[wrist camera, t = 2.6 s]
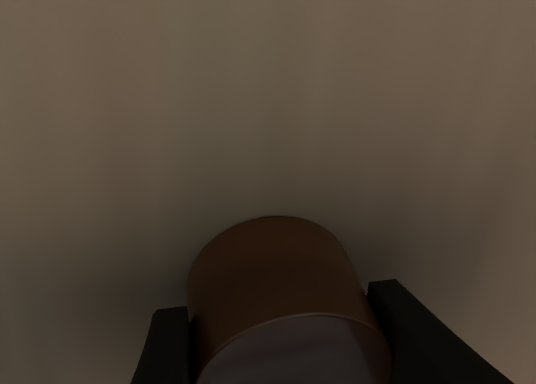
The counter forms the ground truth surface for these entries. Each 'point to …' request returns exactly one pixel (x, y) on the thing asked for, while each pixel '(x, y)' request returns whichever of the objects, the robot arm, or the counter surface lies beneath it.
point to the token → (282, 310)
